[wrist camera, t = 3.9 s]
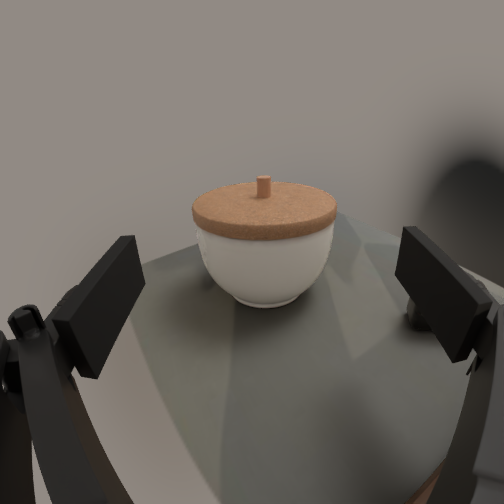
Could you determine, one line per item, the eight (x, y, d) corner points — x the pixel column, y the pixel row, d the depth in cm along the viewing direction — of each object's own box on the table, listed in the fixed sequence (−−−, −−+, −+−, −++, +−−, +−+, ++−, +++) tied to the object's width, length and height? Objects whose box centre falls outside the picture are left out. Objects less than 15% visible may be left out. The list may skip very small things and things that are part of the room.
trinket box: (236, 347, 19) (224, 210, 15) (186, 275, 28) (173, 175, 24) (355, 297, 24) (369, 184, 20) (284, 248, 32) (284, 159, 28)
